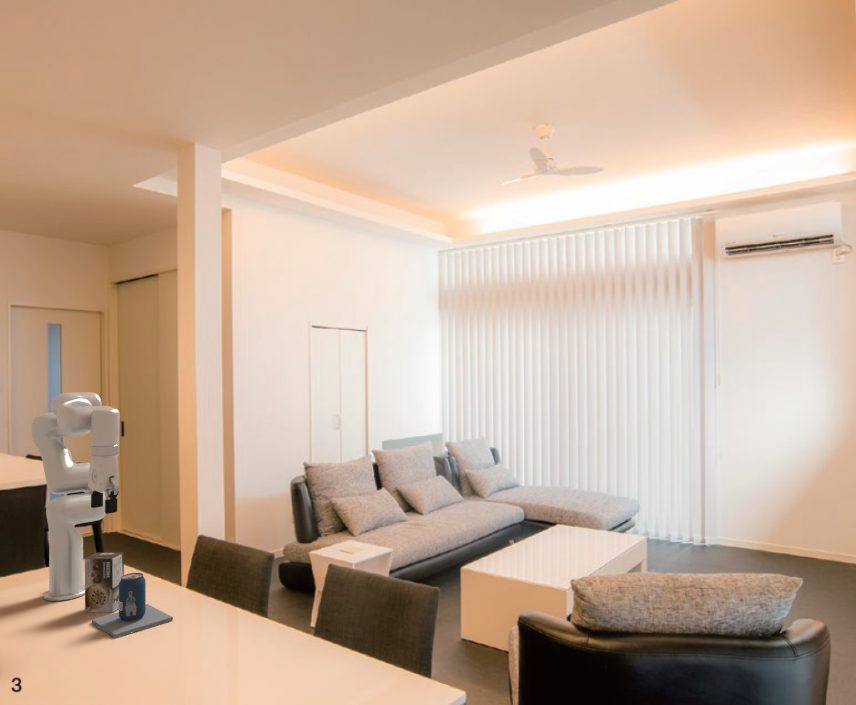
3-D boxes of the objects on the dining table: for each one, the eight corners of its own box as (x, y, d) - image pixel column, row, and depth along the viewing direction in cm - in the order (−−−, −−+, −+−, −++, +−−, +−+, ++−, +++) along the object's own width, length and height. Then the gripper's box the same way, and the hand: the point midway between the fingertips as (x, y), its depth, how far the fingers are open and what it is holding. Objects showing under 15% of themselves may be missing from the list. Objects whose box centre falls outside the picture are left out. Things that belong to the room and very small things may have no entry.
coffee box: (125, 605, 196) (125, 552, 197) (112, 613, 190) (112, 558, 191) (96, 604, 197) (97, 551, 198) (83, 612, 191) (83, 557, 191)
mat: (91, 623, 182) (91, 619, 183) (147, 607, 194) (147, 604, 194) (115, 638, 172) (115, 634, 172) (172, 620, 184) (172, 617, 184)
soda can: (138, 611, 188) (138, 570, 188) (150, 617, 184) (150, 574, 184) (114, 619, 183) (114, 576, 183) (125, 624, 178) (125, 581, 179)
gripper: (79, 449, 189) (78, 507, 189) (103, 455, 178) (102, 517, 178) (105, 446, 195) (104, 503, 195) (131, 452, 183) (130, 512, 183)
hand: (103, 509), depth 186 cm, fingers open, 9 cm apart
